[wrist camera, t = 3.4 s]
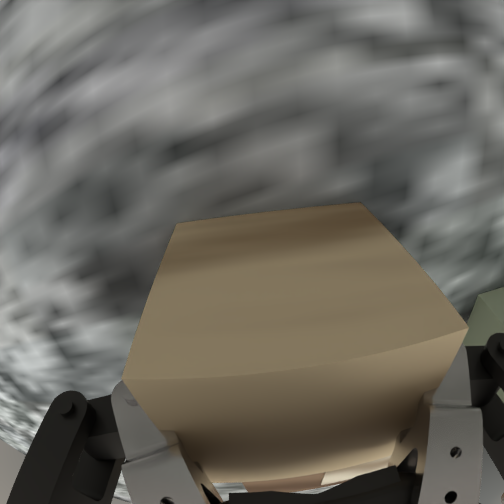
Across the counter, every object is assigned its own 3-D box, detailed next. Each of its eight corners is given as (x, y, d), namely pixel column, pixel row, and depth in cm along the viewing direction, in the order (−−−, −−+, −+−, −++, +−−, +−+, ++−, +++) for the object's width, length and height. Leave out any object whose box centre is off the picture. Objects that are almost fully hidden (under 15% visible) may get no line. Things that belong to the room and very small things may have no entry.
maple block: (176, 223, 9) (121, 378, 4) (360, 202, 9) (468, 327, 4) (211, 351, 12) (205, 482, 7) (348, 333, 12) (392, 455, 7)
